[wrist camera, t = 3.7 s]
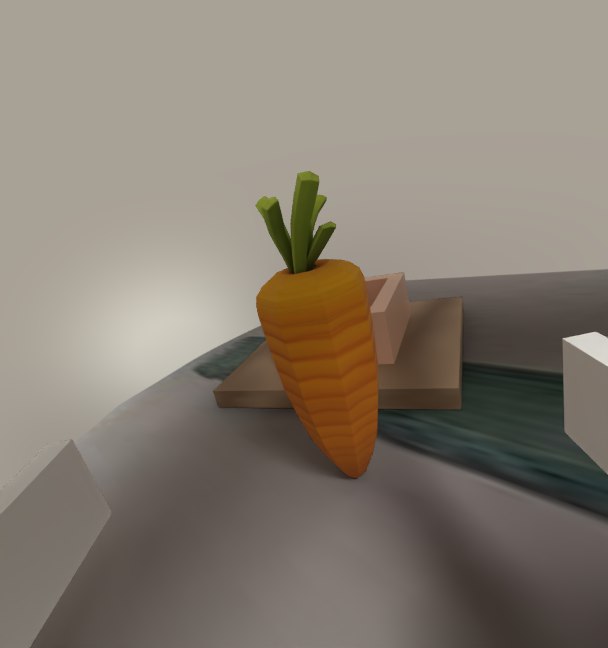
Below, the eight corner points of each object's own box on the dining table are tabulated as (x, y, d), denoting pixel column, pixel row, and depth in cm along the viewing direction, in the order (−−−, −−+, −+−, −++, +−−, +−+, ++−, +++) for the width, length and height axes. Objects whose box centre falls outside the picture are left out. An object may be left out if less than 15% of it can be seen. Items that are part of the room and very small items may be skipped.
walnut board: (463, 311, 36) (461, 296, 36) (461, 409, 23) (458, 388, 22) (295, 326, 44) (291, 314, 44) (218, 407, 31) (213, 391, 30)
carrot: (303, 461, 22) (222, 195, 17) (383, 434, 23) (327, 168, 18) (322, 529, 17) (219, 191, 13) (423, 494, 18) (362, 155, 13)
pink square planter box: (410, 313, 35) (404, 272, 34) (394, 363, 27) (384, 311, 26) (309, 323, 39) (300, 286, 38) (269, 368, 31) (256, 324, 30)
